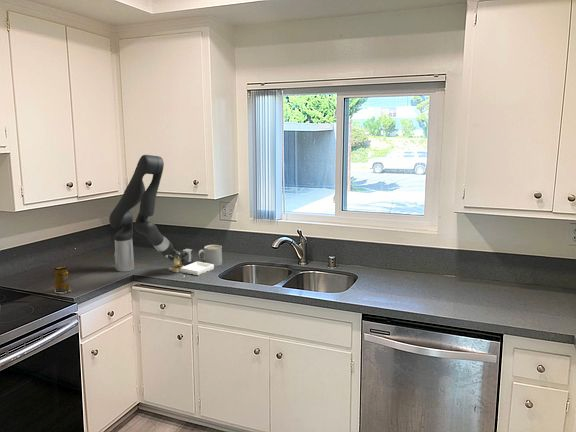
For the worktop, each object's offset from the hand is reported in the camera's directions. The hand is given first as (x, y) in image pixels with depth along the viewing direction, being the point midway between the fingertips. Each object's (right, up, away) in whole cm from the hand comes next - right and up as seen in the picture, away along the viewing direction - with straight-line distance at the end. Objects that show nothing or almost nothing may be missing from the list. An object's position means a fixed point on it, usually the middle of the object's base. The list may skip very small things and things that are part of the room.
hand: (178, 260), depth 255 cm
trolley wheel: (+3, -4, +7) cm, 9 cm away
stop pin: (-1, -5, 0) cm, 5 cm away
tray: (+11, -5, -1) cm, 12 cm away
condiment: (-48, -12, -33) cm, 59 cm away
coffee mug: (+16, -3, +12) cm, 20 cm away
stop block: (-1, -5, 0) cm, 5 cm away
